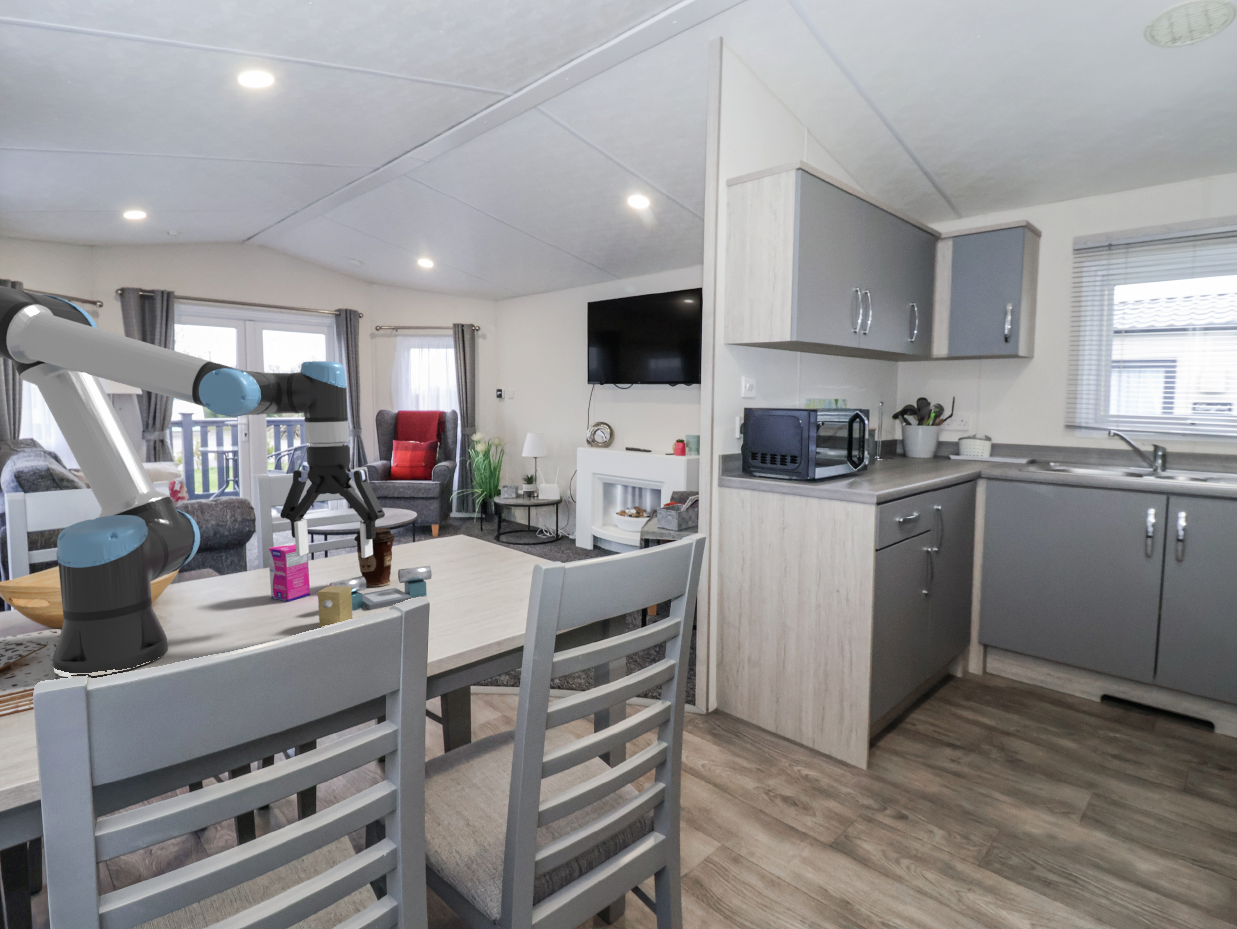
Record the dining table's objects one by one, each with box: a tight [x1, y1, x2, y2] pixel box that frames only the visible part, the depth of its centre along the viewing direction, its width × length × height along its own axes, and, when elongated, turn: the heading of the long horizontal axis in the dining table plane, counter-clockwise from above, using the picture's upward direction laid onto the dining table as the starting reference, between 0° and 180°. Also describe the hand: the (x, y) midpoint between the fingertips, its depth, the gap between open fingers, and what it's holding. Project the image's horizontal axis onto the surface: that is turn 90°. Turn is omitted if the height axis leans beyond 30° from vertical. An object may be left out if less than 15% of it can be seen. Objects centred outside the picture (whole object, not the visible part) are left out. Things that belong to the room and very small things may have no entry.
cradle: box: [362, 587, 413, 611], centre depth 142 cm, size 9×9×1 cm
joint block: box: [317, 585, 353, 628], centre depth 126 cm, size 6×4×7 cm
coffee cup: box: [354, 527, 395, 588], centre depth 154 cm, size 9×8×13 cm
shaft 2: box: [397, 565, 433, 599], centre depth 146 cm, size 7×5×6 cm
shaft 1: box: [328, 575, 367, 611], centre depth 137 cm, size 7×5×6 cm
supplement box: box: [267, 542, 311, 603], centre depth 144 cm, size 6×6×12 cm
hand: (334, 555), depth 125 cm, fingers open, 13 cm apart
